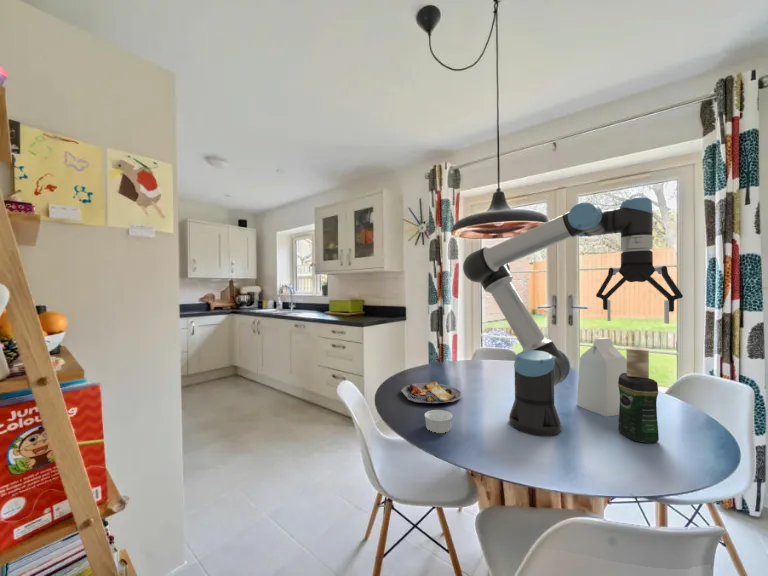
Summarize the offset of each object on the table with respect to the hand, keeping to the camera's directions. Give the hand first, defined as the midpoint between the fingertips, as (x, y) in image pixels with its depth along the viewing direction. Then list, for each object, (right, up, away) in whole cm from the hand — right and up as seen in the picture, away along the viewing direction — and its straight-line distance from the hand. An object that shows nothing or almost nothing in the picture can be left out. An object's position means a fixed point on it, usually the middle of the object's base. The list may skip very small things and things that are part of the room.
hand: (636, 321), depth 97 cm
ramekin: (-58, -35, +7) cm, 68 cm away
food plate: (-56, -35, +37) cm, 76 cm away
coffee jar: (0, -35, 0) cm, 35 cm away
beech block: (0, -16, 0) cm, 16 cm away
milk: (+5, -35, +22) cm, 42 cm away
